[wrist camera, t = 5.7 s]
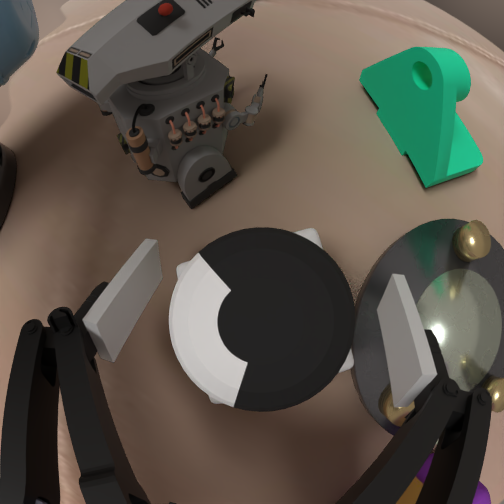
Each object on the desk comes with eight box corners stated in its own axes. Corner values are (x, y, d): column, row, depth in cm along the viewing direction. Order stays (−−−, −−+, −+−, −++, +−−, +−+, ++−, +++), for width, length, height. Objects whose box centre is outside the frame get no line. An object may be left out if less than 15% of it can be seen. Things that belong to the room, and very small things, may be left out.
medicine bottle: (301, 253, 21) (338, 180, 9) (328, 350, 19) (399, 394, 7) (205, 280, 21) (126, 239, 9) (230, 376, 19) (180, 450, 7)
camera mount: (472, 174, 21) (534, 121, 11) (420, 192, 21) (488, 129, 11) (412, 81, 24) (444, 14, 14) (356, 87, 24) (381, 6, 14)
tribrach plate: (326, 441, 18) (336, 462, 14) (361, 206, 21) (375, 188, 18) (495, 424, 16) (516, 432, 13) (516, 242, 19) (538, 233, 16)
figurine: (293, 140, 23) (308, -26, 8) (177, 223, 22) (56, 98, 7) (229, 82, 24) (203, -54, 10) (127, 150, 24) (35, 34, 9)
